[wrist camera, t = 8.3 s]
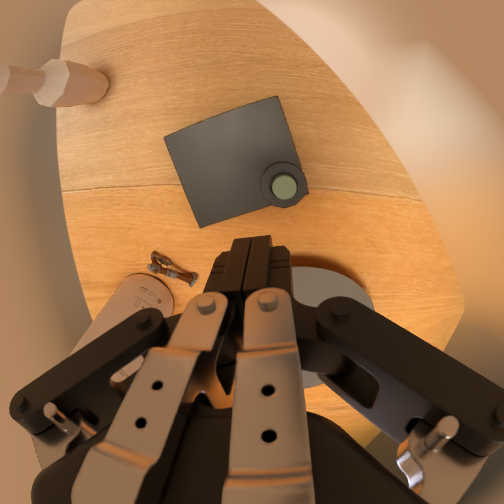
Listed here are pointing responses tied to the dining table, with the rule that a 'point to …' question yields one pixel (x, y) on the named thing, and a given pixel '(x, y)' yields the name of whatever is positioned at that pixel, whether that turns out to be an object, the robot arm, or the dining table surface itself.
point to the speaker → (129, 312)
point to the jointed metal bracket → (170, 270)
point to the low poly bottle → (55, 83)
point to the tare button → (284, 186)
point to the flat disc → (323, 296)
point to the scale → (236, 161)
